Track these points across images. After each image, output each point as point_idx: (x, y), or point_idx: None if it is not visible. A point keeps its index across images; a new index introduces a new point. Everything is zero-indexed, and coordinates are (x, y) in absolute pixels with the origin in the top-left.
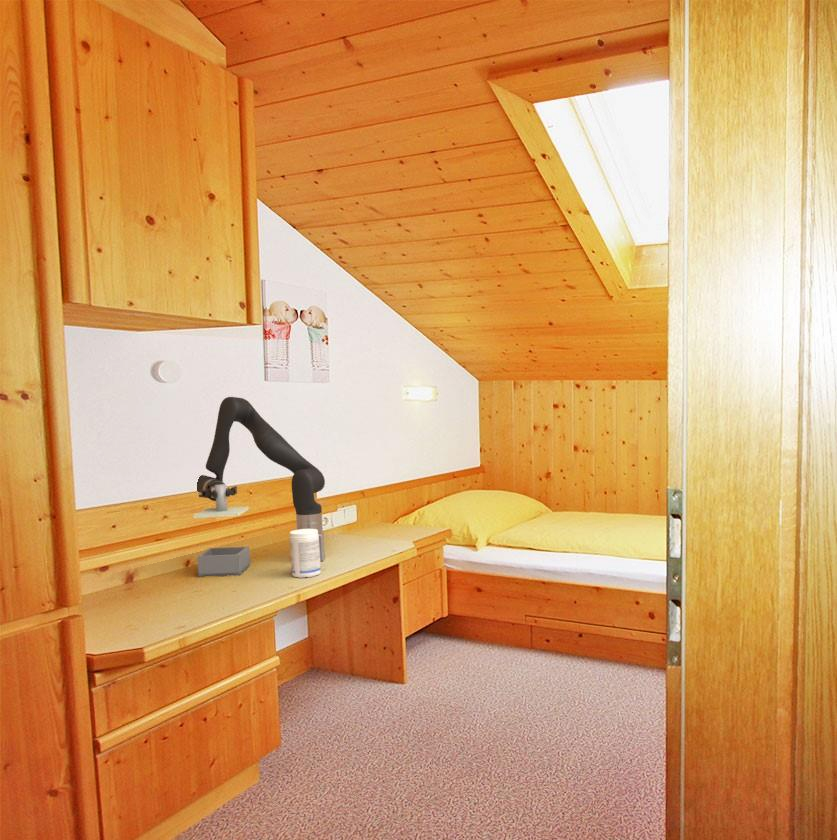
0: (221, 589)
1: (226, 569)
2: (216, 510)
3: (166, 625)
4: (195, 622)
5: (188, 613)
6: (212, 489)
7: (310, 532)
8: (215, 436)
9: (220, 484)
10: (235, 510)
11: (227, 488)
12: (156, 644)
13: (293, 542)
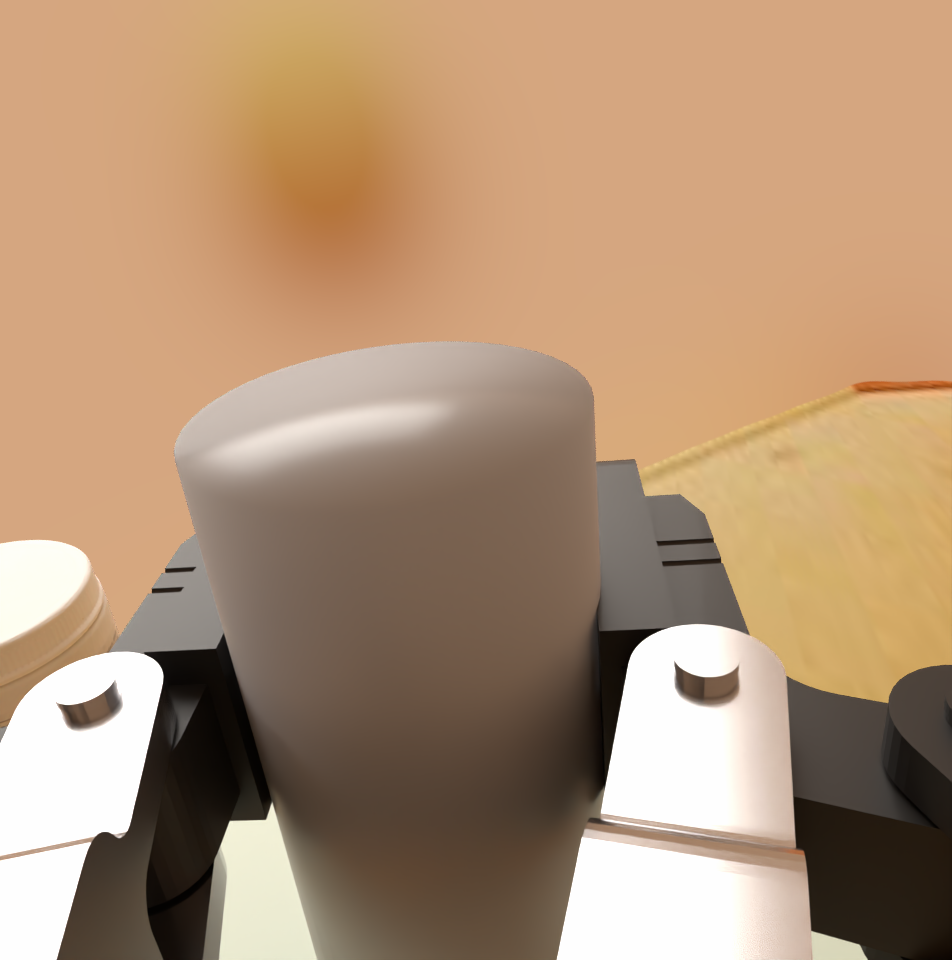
0: None
1: None
2: None
3: (840, 471)
4: (742, 469)
5: (784, 531)
6: (722, 844)
7: (2, 544)
8: None
9: (340, 464)
10: (249, 847)
11: (93, 675)
12: (827, 397)
13: (112, 617)
